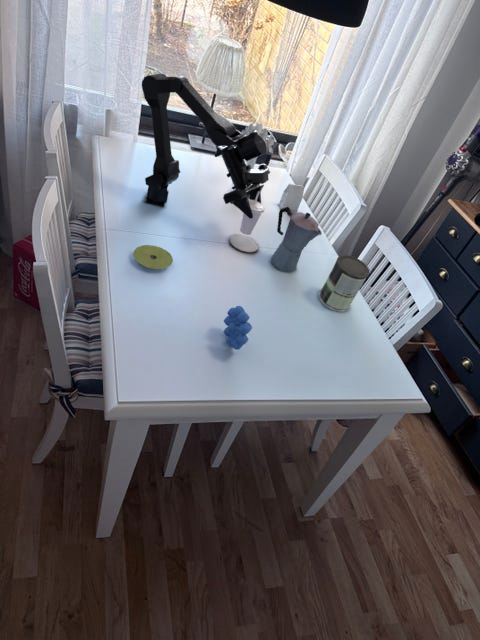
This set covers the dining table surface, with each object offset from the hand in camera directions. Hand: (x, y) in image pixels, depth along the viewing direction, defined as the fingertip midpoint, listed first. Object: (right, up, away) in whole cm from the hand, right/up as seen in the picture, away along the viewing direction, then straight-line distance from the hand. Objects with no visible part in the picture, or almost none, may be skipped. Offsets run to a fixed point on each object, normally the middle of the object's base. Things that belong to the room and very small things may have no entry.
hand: (256, 214), depth 148 cm
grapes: (-7, -39, -26) cm, 47 cm away
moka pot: (+9, -14, +9) cm, 19 cm away
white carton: (+14, +11, +40) cm, 44 cm away
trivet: (-4, -7, +11) cm, 14 cm away
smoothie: (-3, -4, +5) cm, 7 cm away
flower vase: (-5, +19, +41) cm, 45 cm away
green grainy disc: (-30, -16, -11) cm, 36 cm away
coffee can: (+24, -27, +2) cm, 36 cm away
